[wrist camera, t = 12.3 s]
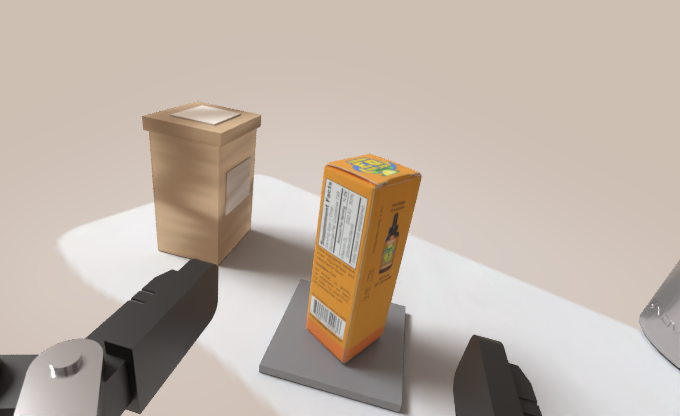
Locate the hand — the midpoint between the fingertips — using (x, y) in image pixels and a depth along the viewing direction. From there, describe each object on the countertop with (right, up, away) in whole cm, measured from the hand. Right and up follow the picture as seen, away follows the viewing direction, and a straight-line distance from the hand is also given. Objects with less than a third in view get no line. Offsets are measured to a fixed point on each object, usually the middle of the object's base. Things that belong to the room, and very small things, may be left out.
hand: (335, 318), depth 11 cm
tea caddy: (-10, +1, +16) cm, 19 cm away
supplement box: (0, -4, +9) cm, 10 cm away
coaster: (0, -4, +9) cm, 10 cm away
